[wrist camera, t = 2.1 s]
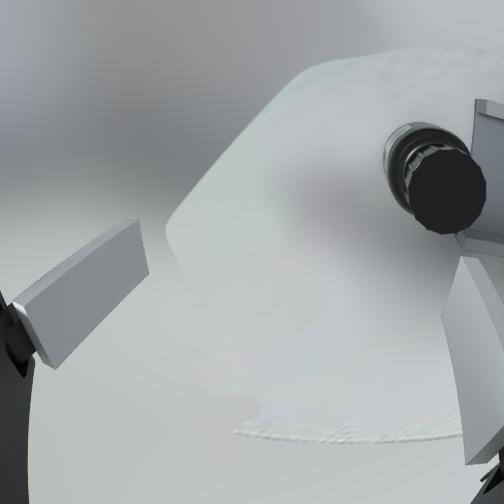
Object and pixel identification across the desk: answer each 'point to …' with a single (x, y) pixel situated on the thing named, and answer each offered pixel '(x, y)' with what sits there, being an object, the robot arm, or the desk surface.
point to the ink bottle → (434, 177)
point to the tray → (488, 180)
